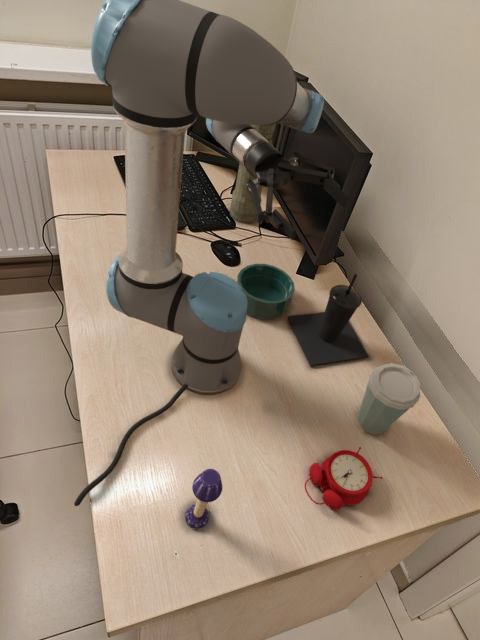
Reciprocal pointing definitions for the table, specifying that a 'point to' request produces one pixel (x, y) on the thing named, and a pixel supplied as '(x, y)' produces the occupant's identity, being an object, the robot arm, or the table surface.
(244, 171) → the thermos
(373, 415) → the disposable coffee cup
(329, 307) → the drinking cup
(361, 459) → the alarm clock
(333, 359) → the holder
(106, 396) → the table surface
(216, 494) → the toy lamp
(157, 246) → the robot arm
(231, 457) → the table surface
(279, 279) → the green bowl
